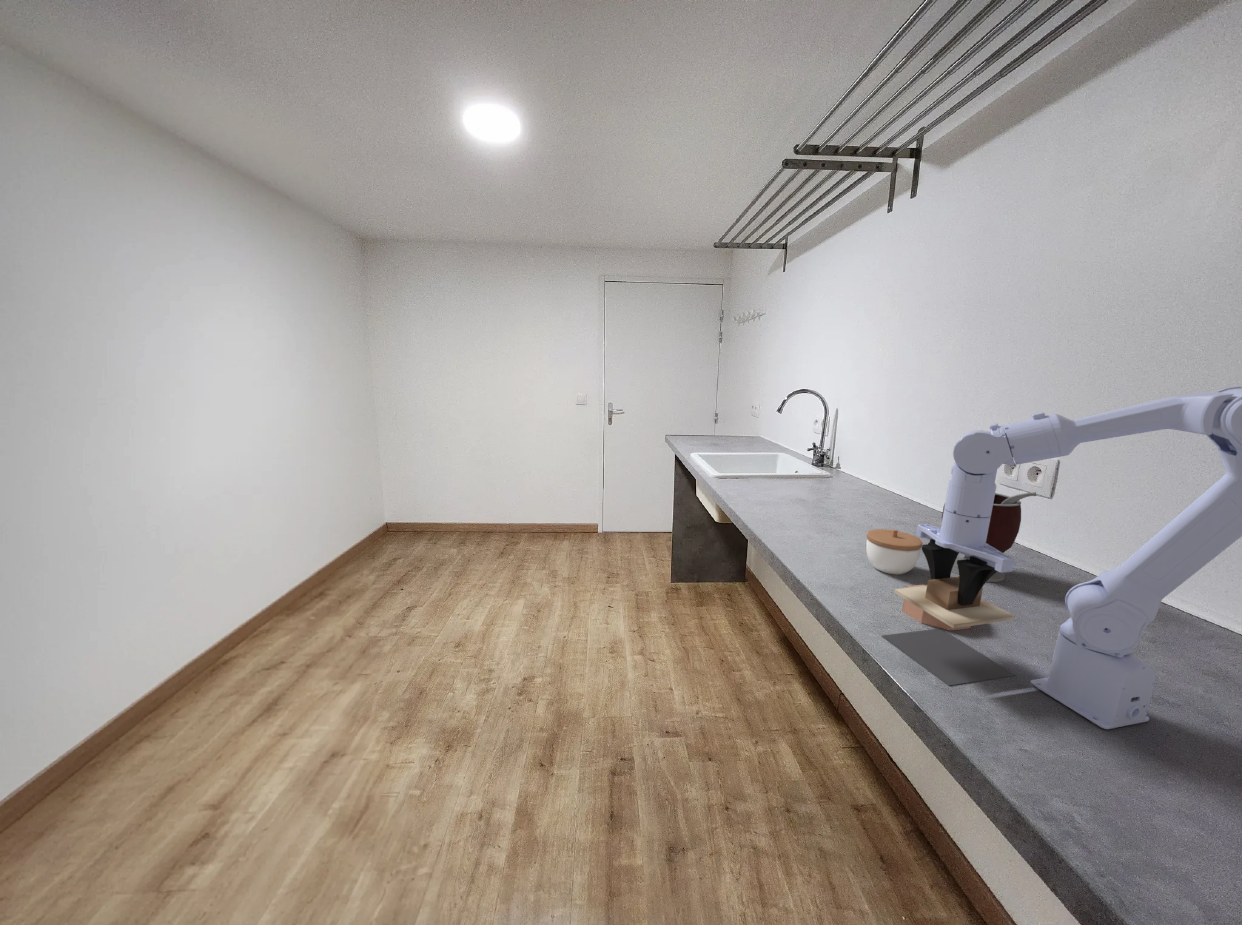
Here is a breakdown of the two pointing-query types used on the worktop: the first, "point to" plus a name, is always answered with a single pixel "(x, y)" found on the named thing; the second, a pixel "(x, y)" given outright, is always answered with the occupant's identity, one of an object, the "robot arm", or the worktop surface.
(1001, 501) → the mate gourd
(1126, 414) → the robot arm
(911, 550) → the lidded jar
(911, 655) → the mat
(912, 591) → the cover
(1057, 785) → the worktop surface
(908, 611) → the bowl
